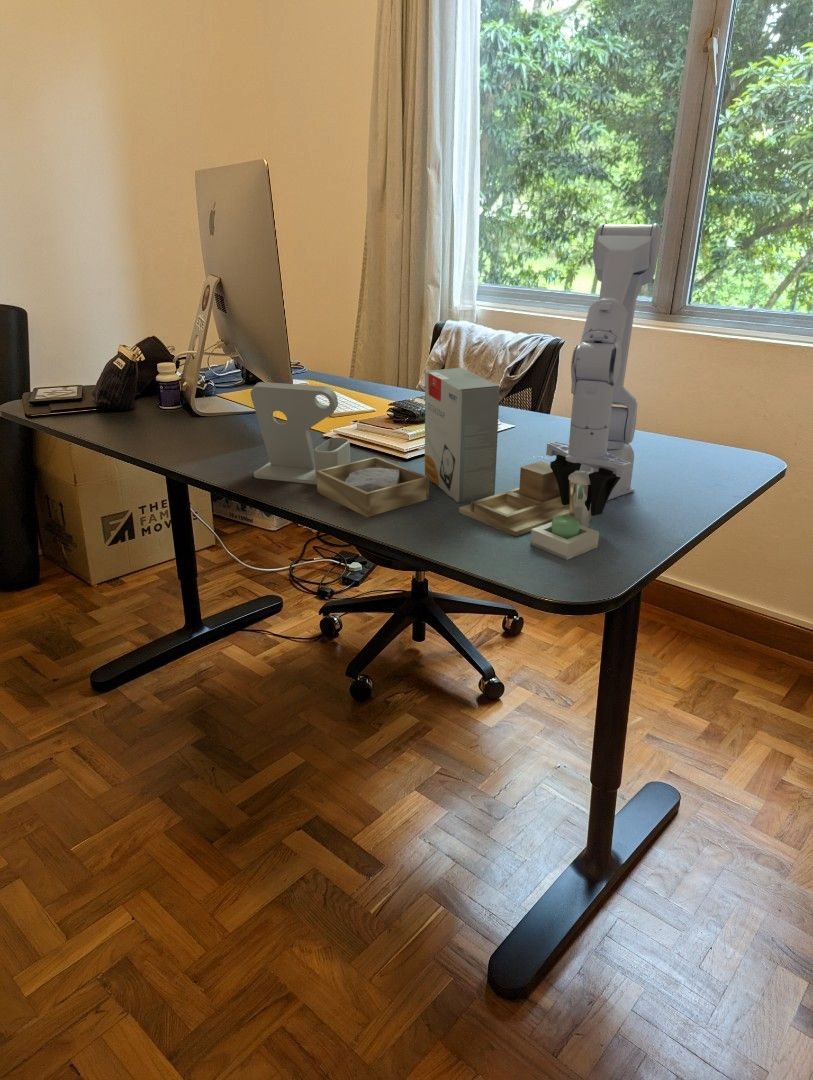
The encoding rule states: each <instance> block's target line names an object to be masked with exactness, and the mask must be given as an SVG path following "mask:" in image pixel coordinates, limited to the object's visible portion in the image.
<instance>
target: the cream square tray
mask: <svg viewBox="0 0 813 1080" xmlns="http://www.w3.org/2000/svg"><path fill="white" fill-rule="evenodd" d="M551 531H552V522H550V523H547V524H545V525H542V526H539V527H536V528H534V529H531V531H530V545H531V546H533V547H534V548H537V549H539V550H543V551H545V552H547V553H549V554H552V555H554V556H556V557H558V558H560V559H563V560H565V561H568V560H570V559H573V558H575V557H578V556H581V555H582V554H585V553H588V552H590V551H593V550H594V549H598V548H599V538H600V531H597V530H595V529H593V528H590V527H589V528H588V527H585V526H582V525H580V528H579V535H577V536H575V537H572V538H569V539H565V538H562V537H560V536H557V535H555V534H553V533H551Z"/></svg>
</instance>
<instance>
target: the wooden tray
mask: <svg viewBox="0 0 813 1080" xmlns="http://www.w3.org/2000/svg"><path fill="white" fill-rule="evenodd" d="M367 468H384V469H395V470H396V469H399V470H400V484H397V485H393V486H389V487H386V488H382V489H378V490H375V491H371V492H365V491H363V490H361V489H359V488H357V487H355V486H352V485H350V484H348V483H346V482H345V480H346V479H347V478H348V477H349V474H350V473H353V472H356V471H358V470H364V469H367ZM316 475H317V484H316V490H317V493H318V494H320V495H322V496H324V497H326V498H327V499H330V500H332V501H334V502H336V503H338V504H340V505H342V506H344V507H346V508H348V509H350V510H351V511H352V510H353V511H355V512H356V513H358V514H360V515H362V516H364V517H366V518H369V517H372V516H375V515H379V514H383V513H386V512H390V511H392V510H396V509H399V508H403V507H406V506H409V505H413V504H416V503H420V502H424V501H427V500H430V497H429V496H430V479H429V477H427V476H426V475H425V474H422V473H419V472H416V471H413V470H411V469H409V468H407V467H403V466H401V465H399V464H396V463H393V462H391V461H388V460H386V459H383V458H382V457H378V456H374V457H369V458H364V459H361V460H356V461H352V462H350V463H348V464H344V465H339V466H335V467H331V468H327V469H323V470H318V471H316Z"/></svg>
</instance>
